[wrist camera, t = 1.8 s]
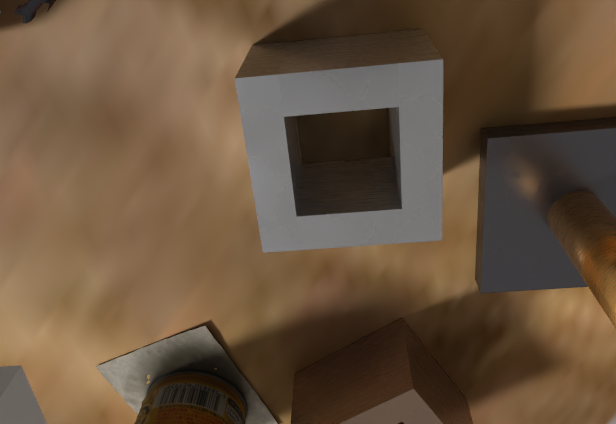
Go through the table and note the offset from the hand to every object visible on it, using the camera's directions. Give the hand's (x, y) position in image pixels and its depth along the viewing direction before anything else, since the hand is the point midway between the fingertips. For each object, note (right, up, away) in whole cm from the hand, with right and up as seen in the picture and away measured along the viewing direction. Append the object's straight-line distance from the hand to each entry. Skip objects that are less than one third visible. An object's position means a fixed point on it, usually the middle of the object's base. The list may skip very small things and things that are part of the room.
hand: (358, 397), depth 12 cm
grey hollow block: (0, +8, +14) cm, 16 cm away
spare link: (+3, -6, +22) cm, 23 cm away
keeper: (+11, +4, +16) cm, 20 cm away
